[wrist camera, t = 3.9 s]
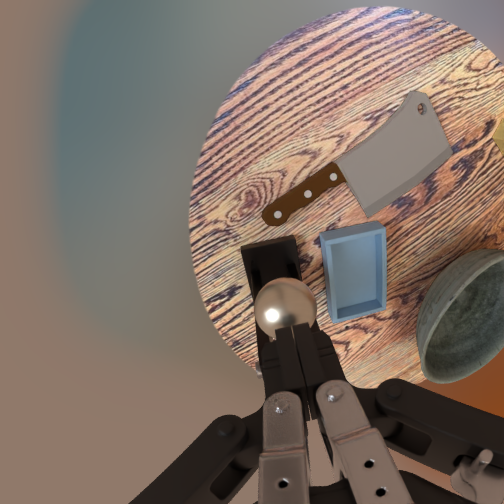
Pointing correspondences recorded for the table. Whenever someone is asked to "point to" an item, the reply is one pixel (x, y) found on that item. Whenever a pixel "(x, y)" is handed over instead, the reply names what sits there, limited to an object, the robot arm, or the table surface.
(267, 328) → the cutter lever
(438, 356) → the bowl
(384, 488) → the robot arm
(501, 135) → the butter pat
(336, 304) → the butter dish
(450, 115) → the table surface
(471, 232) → the table surface
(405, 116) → the kitchen cleaver
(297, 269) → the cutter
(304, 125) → the table surface
